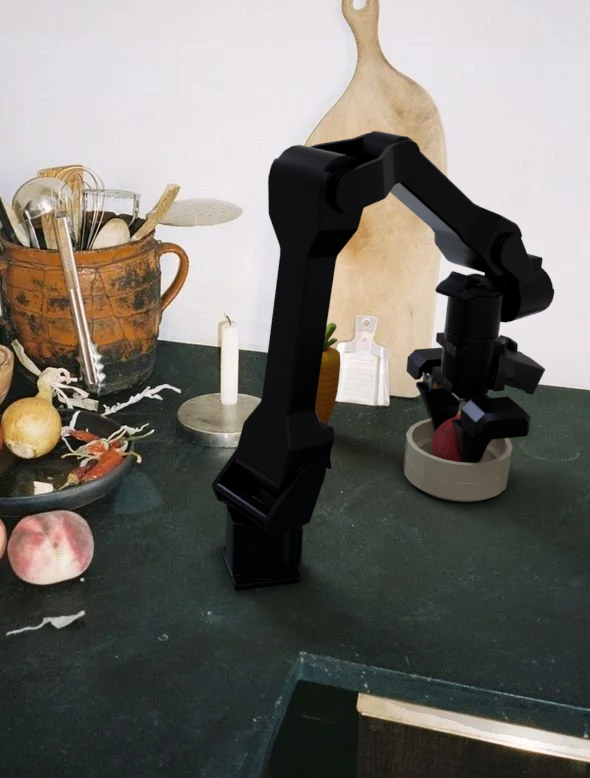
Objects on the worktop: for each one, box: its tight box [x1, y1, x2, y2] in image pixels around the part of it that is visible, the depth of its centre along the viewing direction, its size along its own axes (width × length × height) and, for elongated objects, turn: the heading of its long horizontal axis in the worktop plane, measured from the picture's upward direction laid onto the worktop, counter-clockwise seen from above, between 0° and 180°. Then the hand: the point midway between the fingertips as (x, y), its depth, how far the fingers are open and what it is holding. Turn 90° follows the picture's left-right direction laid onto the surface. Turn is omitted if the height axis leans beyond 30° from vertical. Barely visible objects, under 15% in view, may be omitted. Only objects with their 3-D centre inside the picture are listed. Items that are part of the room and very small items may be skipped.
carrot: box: [315, 322, 341, 424], centre depth 114 cm, size 5×5×15 cm
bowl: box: [402, 418, 514, 503], centre depth 106 cm, size 12×12×5 cm
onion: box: [432, 409, 484, 462], centre depth 105 cm, size 6×6×8 cm
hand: (456, 459), depth 106 cm, fingers closed on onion, 6 cm apart
